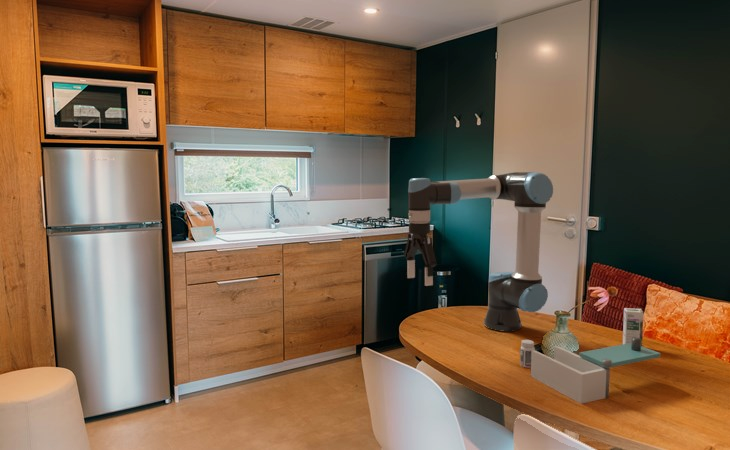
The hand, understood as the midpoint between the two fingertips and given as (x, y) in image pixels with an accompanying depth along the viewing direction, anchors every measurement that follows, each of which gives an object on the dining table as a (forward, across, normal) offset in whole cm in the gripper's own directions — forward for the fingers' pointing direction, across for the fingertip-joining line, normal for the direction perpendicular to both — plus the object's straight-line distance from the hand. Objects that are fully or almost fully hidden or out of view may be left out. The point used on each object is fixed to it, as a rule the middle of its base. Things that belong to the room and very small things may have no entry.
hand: (419, 281), depth 185 cm
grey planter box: (+27, +42, +29) cm, 57 cm away
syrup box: (+27, +25, +74) cm, 83 cm away
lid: (+18, +48, +43) cm, 67 cm away
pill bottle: (+27, +24, +28) cm, 46 cm away
